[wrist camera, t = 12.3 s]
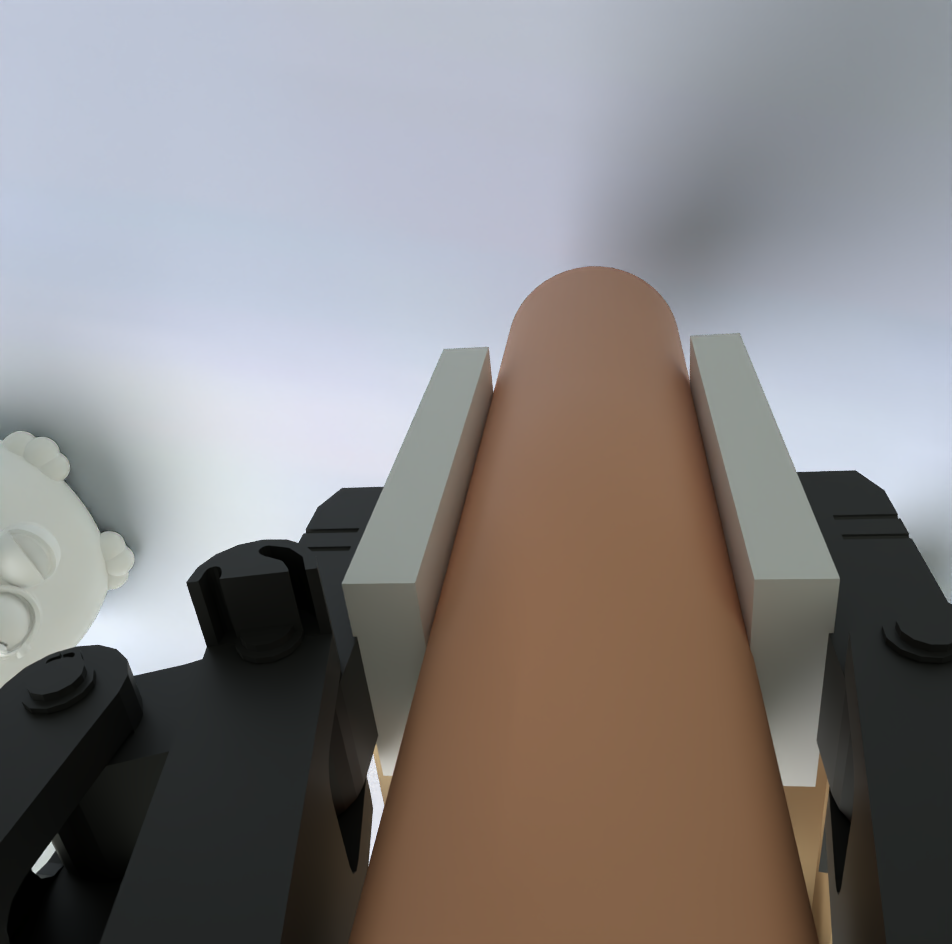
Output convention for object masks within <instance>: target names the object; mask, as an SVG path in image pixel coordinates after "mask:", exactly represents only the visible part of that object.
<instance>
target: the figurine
mask: <svg viewBox="0 0 952 944" xmlns="http://www.w3.org/2000/svg"><path fill="white" fill-rule="evenodd" d="M69 472H70V464H69V461H68V459H67V458H66V457H65V456H64V455H63V454H61V453H60V450H59V447H58V445H57V444H56V443H55V442H54V441H53V440H51V439H50V438H47V437H37V438H36V437H35V436H33V435H32V434H31V433H28V432H25V431H17V432H13V433H11V434H9V435H8V436H7V437H6V438H5V439H4V440H0V689H1V688H2V686H3V685H4V684H5V683H7V682H8V681H9V680H10V679H12V678H13V677H14V676H15V675H16V674H18V673H19V672H20V671H21V670H23V669H24V668H25V667H27V666H29V665H31V664H33V663H34V662H36V661H38V660H40V659H42V658H44V657H46V656H47V655H50V654H53V653H55V652H58V651H63V650H65V649H69V648H73V647H75V646H76V645H77V644H78V643H79V642H80V640H81V639H82V638H83V637H84V635H85V634H86V633H87V631H88V630H89V628H90V627H91V625H92V623H93V622H94V620H95V618H96V617H97V615H98V613H99V611H100V608H101V606H102V604H103V602H104V599H105V597H106V594H107V592H108V590H113V589H117V588H119V587H121V586H122V585H124V584H125V582H126V581H127V579H128V576H129V570H130V569H131V568H132V567H133V564H134V555H133V552H132V551H131V549H130V548H128V547H127V546H126V545H125V541H124V539H123V537H122V536H121V535H120V534H118V533H116V532H113V531H106V532H103V533H100V531H99V529H98V527H97V525H96V523H95V521H94V520H93V518H92V516H91V514H90V513H89V511H88V510H87V508H86V507H85V505H84V504H83V503H82V501H81V500H80V499H79V498H78V496H77V495H76V494H75V492H74V491H73V490H72V489H71V488H70V487H69V485H68V484H67V483H66V482H65V481H64V479H65V478H66V477H67V476H68V474H69Z"/></svg>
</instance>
